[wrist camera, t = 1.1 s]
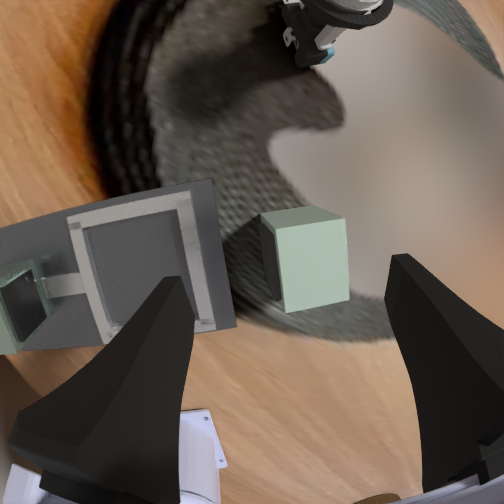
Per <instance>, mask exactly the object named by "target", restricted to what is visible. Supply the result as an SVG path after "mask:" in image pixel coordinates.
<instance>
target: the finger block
mask: <svg viewBox="0 0 504 504" xmlns="http://www.w3.org/2000/svg"><path fill="white" fill-rule="evenodd" d="M260 216H261V224H258V229H259V236H260V244H261V251H262V258H263V265H264V272H265V279H266V281H267V284H268V286H269V288H270V290H271V292H272V295H273V297H274V299H275V301H280V302H281V304H282V306H283V309H284V311H285V313H289V312H294V311H299V310H304V309H309V308H313V307H318V306H323V305H328V304H332V303H337V302H341V301H346V300H349V275H348V254H347V237H346V224H345V218H343V217H341V216H338V215H336V214H334V213H331V212H329V211H326V210H323V209H321V208H319V207H316V206H314V205H313V206H306V207H300V208H293V209H286V210H279V211H273V212H266V213H260Z"/></svg>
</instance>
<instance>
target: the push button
mask: <svg viewBox="0 0 504 504" xmlns="http://www.w3.org/2000/svg"><path fill="white" fill-rule="evenodd" d="M283 2H284V7H283V9H282V11H281V13H282V16H283V18H284V21H285V23H286V26H287V28H286V29H287V30H285V32H284V34H283V38H284V41H285V43H286V46H287V47H289V45H290V44H291V42H292V41H293V43H294V46H295V49H296V54H295V62H296V65H297V67H298V68H300V67H306V66H311V65H317V64H323V63H326V61H327V60H329V59H330V58H331V57H332V56H333V55H334V49H333V46H332V43H333V42H335V39H336V38H337V37H338V36H339V35H340V34H341V33H342V32H343V31H344V30H346V29H347V28H348V29H356V30H360V29H362V28H365V27H367V26H372V25H376V24H378V23H380V22H381V21H383V20H384V19H385V18H386V17H388V15H389V14H390V12H391V10H392V7H393V0H300V1H299V0H288V2H286V0H283ZM368 10H372V11H371V14H367V15H364V14H365V13H366V12H367V11H368ZM286 37H287V39H288V42H287V40H286Z"/></svg>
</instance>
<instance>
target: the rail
mask: <svg viewBox="0 0 504 504" xmlns="http://www.w3.org/2000/svg"><path fill="white" fill-rule="evenodd" d="M180 275H181V278H182V281H183V284H184V287H185V290H186V293H187V295H188V298H189V301H190V304H191V306H192V309H193V312H194V315H195V327H194V334H198V333H204V332H211V331H217V330H223V329H229V328H235V327H237V324H236V318H235V312H234V307H233V302H232V296H231V291H230V285H229V279H228V274H227V268H226V262H225V256H224V251H223V245H222V239H221V233H220V227H219V221H218V215H217V209H216V203H215V196H214V190H213V184H212V178H211V179H205V180H199V181H193V182H188V183H182V184H177V185H172V186H167V187H161V188H156V189H151V190H147V191H142V192H137V193H132V194H128V195H123V196H119V197H114V198H110V199H106V200H101V201H97V202H93V203H89V204H85V205H81V206H77V207H73V208H69V209H65V210H62V211H58V212H54V213H50V214H47V215H43V216H40V217H36V218H33V219H29V220H26V221H22V222H19V223H16V224H12V225H9V226H6V227H3V228H0V354H18V353H19V352H20V351H21V350H22V349H23V351H27V350H46V349H62V348H76V347H88V346H99V345H107V344H108V343H109V342H110V341H111V340H112V339H113V338H114V337H115V335H116V334H117V333H118V332H119V331H120V330H121V329H122V327H123V326H124V325H125V324H126V323H127V322H128V321H129V319H130V318H131V317H132V316H133V315H134V313H135V312H136V311H137V310H138V308H139V307H140V306H141V305H142V304H143V302H144V301H145V300H146V299H147V297H148V296H149V295H150V293H151V292H152V291H153V290H154V288H155V287H156V286H157V285H158V283H159V282H160V281H161V280H162V279H163V278H164V277H168V276H180Z"/></svg>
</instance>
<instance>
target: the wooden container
mask: <svg viewBox="0 0 504 504" xmlns="http://www.w3.org/2000/svg"><path fill="white" fill-rule="evenodd" d="M399 500H401V499H400V497H399V496H398V495H396V494H383V495H379V496H375V497H371V498H368V499H365V500H362V501H360V502H357V503H355V504H387V503H391V502H395V501H399Z"/></svg>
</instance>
